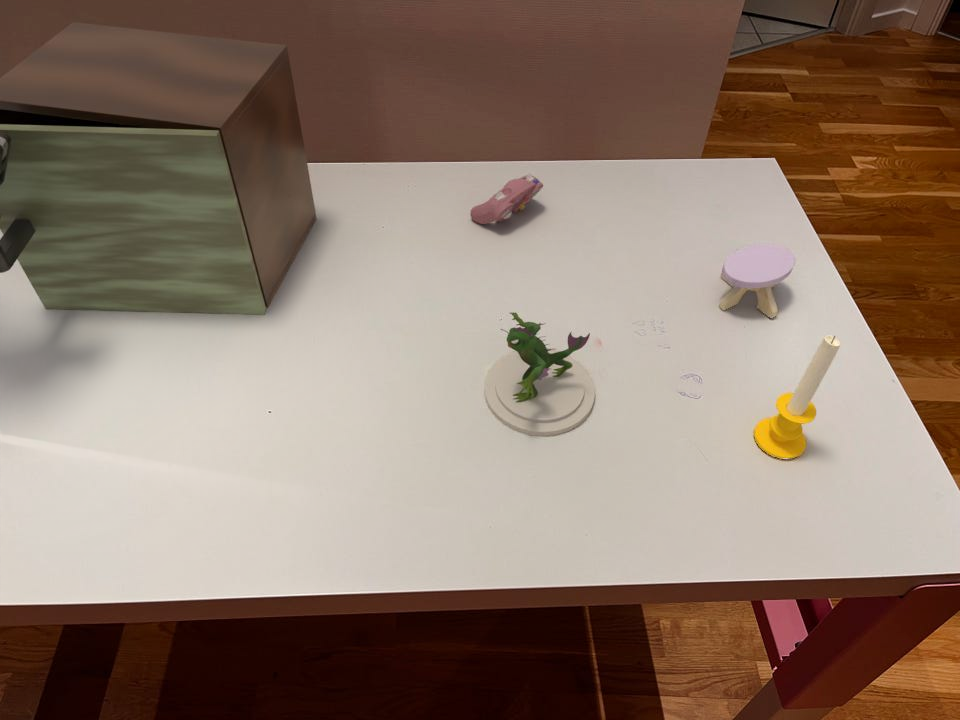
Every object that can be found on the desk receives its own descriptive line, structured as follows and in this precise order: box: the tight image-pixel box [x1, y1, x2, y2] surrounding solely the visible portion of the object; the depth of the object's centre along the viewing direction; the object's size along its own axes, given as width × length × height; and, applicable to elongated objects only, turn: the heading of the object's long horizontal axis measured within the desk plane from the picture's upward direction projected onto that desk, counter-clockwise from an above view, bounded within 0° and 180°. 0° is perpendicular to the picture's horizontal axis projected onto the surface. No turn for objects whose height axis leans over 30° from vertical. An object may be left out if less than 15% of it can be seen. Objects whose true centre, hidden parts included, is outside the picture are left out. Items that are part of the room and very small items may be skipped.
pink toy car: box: [469, 173, 544, 225], centre depth 100 cm, size 10×5×7 cm, turn 137°
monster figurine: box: [483, 311, 596, 437], centre depth 77 cm, size 12×12×10 cm
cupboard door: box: [0, 124, 267, 316], centre depth 77 cm, size 8×26×24 cm, turn 89°
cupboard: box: [0, 22, 318, 309], centre depth 87 cm, size 18×26×24 cm
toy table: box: [718, 243, 796, 319], centre depth 90 cm, size 10×9×6 cm
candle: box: [753, 334, 841, 459], centre depth 72 cm, size 5×5×16 cm
